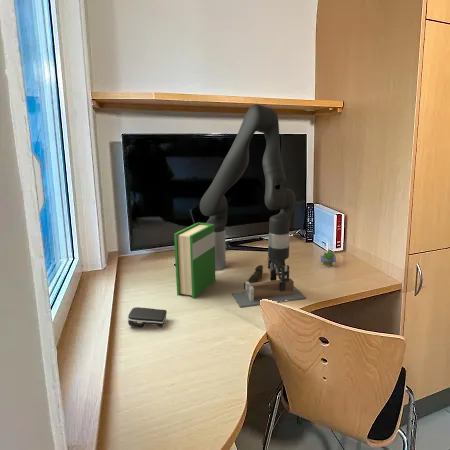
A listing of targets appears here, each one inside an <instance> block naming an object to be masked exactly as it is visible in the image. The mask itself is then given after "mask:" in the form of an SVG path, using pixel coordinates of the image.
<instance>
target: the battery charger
mask: <svg viewBox="0 0 450 450" xmlns="http://www.w3.org/2000/svg"><path fill="white" fill-rule="evenodd" d="M167 312H168V311H167V309H160V308H159V309H158V308H152V307H151V308H150V307H139V306H138V307H137V306H136V307H133V308H132V309H131V310H130V311H129V314H128V316H127V321H128V325H129V326H130V327H132V328H139V329H140V328H142V329H143V328H145V326H146V325H156V326H157V327H160V328H163V327H164V326H165V323H166V319H167V314H168V313H167Z"/></svg>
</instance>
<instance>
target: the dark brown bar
mask: <svg viewBox="0 0 450 450" xmlns="http://www.w3.org/2000/svg"><path fill="white" fill-rule="evenodd" d="M254 270H255V271H254V272H253V273H252V274H251V275H250V277H249V278H248V279H247V281H246V282H249V283H256V282H259V280H260V279H262V277H263V273H264V271H263V270H264V266H263V265H262V264H260V265H257V266H256V268H255V269H254ZM243 289H244V290H245V282H244V283H243Z"/></svg>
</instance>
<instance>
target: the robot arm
mask: <svg viewBox="0 0 450 450" xmlns="http://www.w3.org/2000/svg"><path fill="white" fill-rule="evenodd" d="M256 132H258V133H262V134H263V135H264V138H265V141H266V143H265V144H266V145H265V150H264V153H263V156H262V162H261V163H262V169H263V174H264V179H265V191H264V204H265V206H266V208H267V209H268V210H270V211H276V210H280V212H279V213H278V214H277V213H276V214H275V215H272V216H270V217H269V223H268V224H269V226H268V228H269V229H268V239H267V241H268V242H267V258H268V259H267V268H268V270H269V273H270V277H269V281H272V280H279V291H280V292H282V291H285V290H286V282H289V278H290V265H288V264H287V265H286V260H288V259H289V257H290V243H291V242H290V241H291V240H290V222H291V221H290V220H291V218H292V214H293V210H294V208H295V205H296V195H295V192H294V191H293V189H291V188H279V189H276V187H277V186H278V185H281V184H283V183H284V182H285V181H286V174H285V170H284V169H285V168H284V165H283V164H284V163H283V160H282V155H281V145H280V140H281V138H280V124H279V116H278V113H277V111H276V110H275V109H273V108H271V107H267V106H264V105H261V104H258V103H257V104H253V105H251V106H250V107H249V108H248V110H247V111H246V113H245V115H244V116H243V120H242V122H241V125H240V127H239V130H238V132H237V134H236V136H235V139H234V141H233V143H232V145H231V147H230V149H229V150H228V153H227V154H226V156H225V158H224V159H223V162H222V163H221V164H220V168H219V169H218V171H217V172H216V174H215V176H214V178H213V180H212V183H211V184H210V185H209V187H208V188H207V190H206V191H205V192H204V194H203V196H202V197H201V199H200V202H199V210H200V212H201V214H202V215H203V216H205V217H209V218H208V220H206V222H205V223H208V224H214V233H215V271H220V270H223V269H225V268H226V267H227V264H226V262H227V261H226V258H227V257H226V225H227V222H228V201H227V197H226V196H225V194H226V193H227V192H228V191H229V189H231V188H232V187H233V186H234V185H235V184H236V183H237V182H238V181H239V180H240V179H241V177H242V176H243V174H244V172H245V171H246V169H247V168H248V165H249V161H250V160H249V159H250V150H249V149H250V148H249V147H250V142H251V140H252V138H253V137H254V135H255V133H256ZM277 277H278V279H277Z"/></svg>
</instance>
